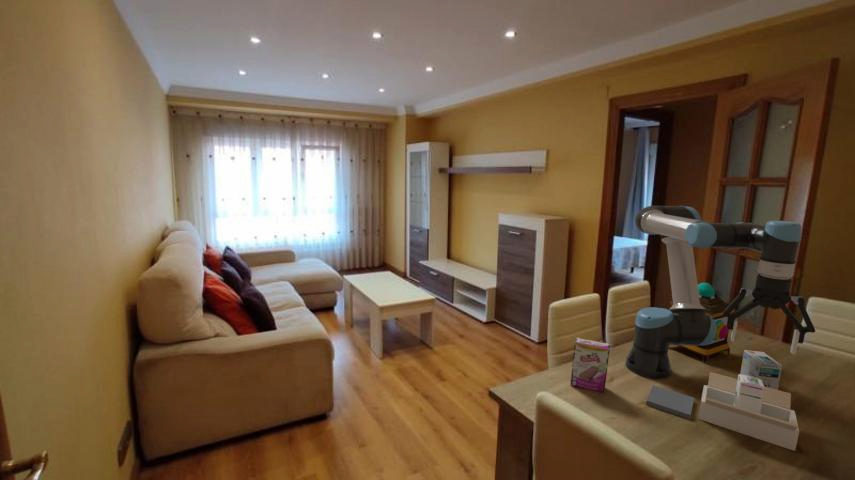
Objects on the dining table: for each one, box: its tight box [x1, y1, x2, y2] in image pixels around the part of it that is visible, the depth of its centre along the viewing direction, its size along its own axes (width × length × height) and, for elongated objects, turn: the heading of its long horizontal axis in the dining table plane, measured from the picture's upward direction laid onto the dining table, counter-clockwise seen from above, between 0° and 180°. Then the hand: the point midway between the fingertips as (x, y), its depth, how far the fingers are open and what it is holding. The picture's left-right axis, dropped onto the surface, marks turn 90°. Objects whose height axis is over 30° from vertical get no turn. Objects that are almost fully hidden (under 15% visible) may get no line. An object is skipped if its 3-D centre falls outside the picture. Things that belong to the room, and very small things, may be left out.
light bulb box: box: [739, 349, 783, 390], centre depth 141 cm, size 11×7×11 cm, turn 168°
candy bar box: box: [570, 337, 611, 394], centre depth 137 cm, size 11×5×16 cm, turn 65°
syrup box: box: [734, 373, 765, 414], centre depth 118 cm, size 6×6×14 cm
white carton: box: [698, 371, 800, 452], centre depth 118 cm, size 22×20×9 cm
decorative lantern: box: [670, 282, 737, 364], centre depth 165 cm, size 20×20×30 cm
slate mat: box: [645, 384, 695, 420], centre depth 129 cm, size 12×12×2 cm
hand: (761, 346), depth 115 cm, fingers open, 13 cm apart
